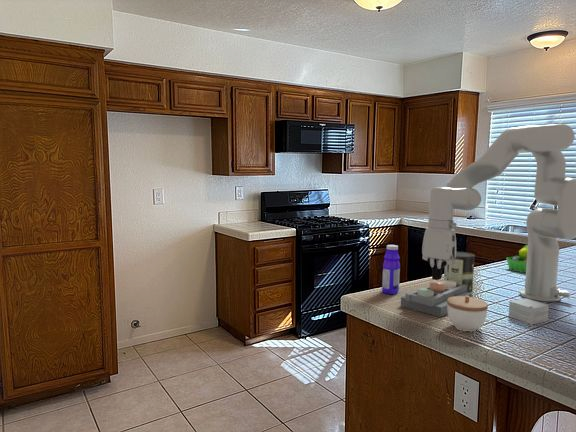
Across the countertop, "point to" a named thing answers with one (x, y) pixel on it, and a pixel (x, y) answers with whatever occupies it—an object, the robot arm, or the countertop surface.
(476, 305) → the lidded jar
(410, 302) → the grey compartment tray
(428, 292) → the sage button
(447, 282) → the cream button
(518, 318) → the small box
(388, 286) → the bottle
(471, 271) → the coffee can
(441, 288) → the peach rounded dome
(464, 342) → the countertop surface
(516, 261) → the fruit basket
